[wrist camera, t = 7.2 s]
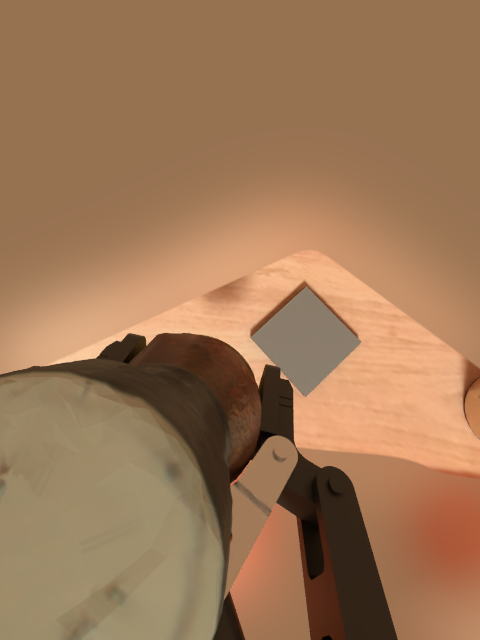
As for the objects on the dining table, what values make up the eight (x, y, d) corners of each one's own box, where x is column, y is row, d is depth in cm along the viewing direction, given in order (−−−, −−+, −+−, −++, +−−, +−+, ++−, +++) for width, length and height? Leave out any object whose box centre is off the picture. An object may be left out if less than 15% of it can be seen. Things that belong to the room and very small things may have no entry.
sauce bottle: (170, 355, 22) (-312, 293, 3) (239, 336, 23) (224, 161, 3) (187, 432, 21) (-396, 1159, 2) (260, 411, 22) (431, 855, 2)
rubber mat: (358, 342, 34) (361, 342, 33) (303, 395, 33) (305, 396, 32) (304, 288, 35) (306, 286, 34) (250, 337, 34) (250, 336, 33)
